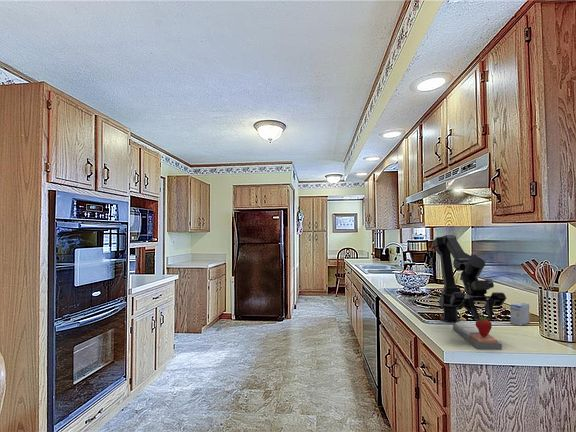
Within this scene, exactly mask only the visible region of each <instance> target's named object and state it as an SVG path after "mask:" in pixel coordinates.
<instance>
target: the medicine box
mask: <svg viewBox="0 0 576 432" xmlns="http://www.w3.org/2000/svg"><path fill="white" fill-rule="evenodd" d="M509 307H510V324H511V323H512V325H515V326H524V325H526V324H529V323H530V304H529V303H527V302H521V301H518V302H517V301H516V302H515V303H511V304H510V305H509Z"/></svg>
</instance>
